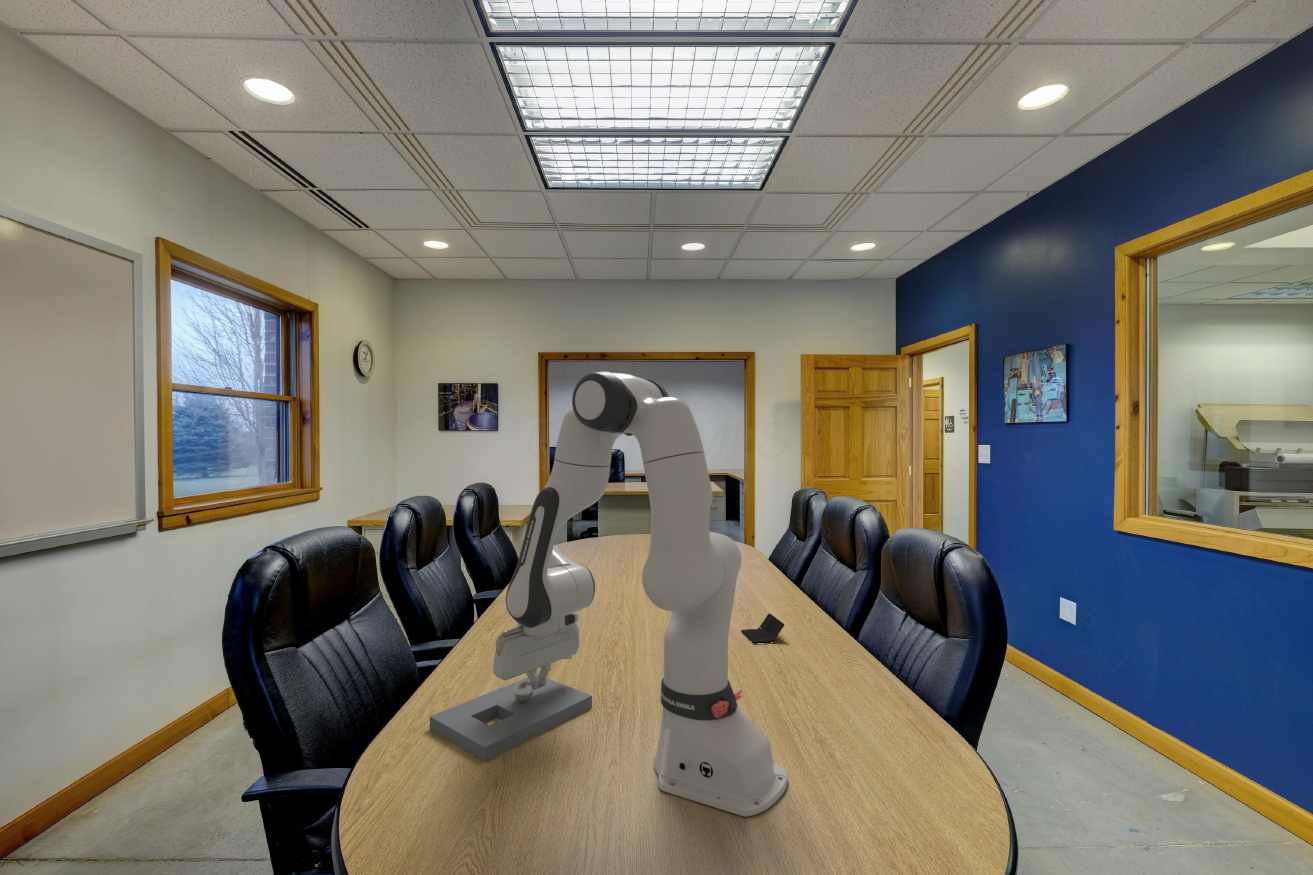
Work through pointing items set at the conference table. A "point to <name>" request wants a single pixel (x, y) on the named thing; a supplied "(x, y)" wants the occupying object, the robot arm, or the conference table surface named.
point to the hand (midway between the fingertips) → (538, 687)
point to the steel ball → (523, 691)
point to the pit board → (508, 717)
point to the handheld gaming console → (765, 630)
